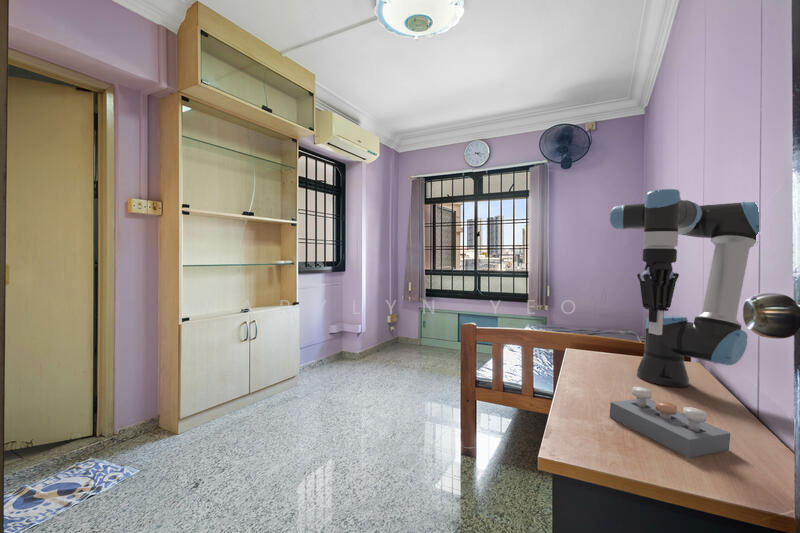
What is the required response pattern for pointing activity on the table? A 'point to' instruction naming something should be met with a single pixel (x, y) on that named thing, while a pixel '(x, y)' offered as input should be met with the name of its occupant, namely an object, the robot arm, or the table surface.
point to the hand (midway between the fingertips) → (655, 333)
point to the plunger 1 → (641, 396)
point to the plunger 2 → (694, 418)
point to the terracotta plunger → (666, 409)
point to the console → (670, 429)
